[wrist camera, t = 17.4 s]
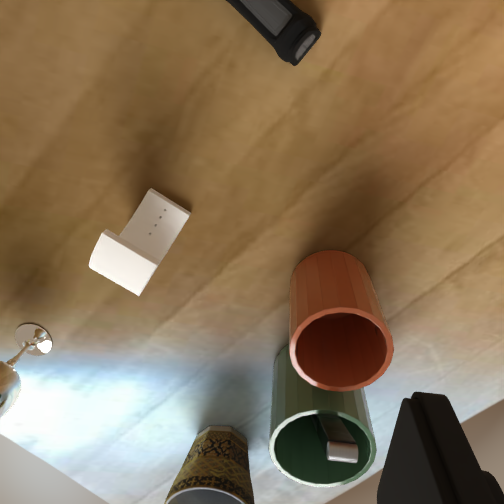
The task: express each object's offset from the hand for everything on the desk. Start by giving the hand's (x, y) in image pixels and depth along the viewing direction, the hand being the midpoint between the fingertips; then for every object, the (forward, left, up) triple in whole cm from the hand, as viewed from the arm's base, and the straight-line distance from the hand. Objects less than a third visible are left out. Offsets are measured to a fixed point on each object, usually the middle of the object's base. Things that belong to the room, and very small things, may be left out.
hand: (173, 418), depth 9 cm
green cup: (-8, +25, -33) cm, 42 cm away
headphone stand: (+10, +9, -34) cm, 36 cm away
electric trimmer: (+3, -12, -34) cm, 36 cm away
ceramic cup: (+1, +39, -34) cm, 51 cm away
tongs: (-8, +23, -33) cm, 41 cm away
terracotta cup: (-8, +14, -33) cm, 37 cm away
